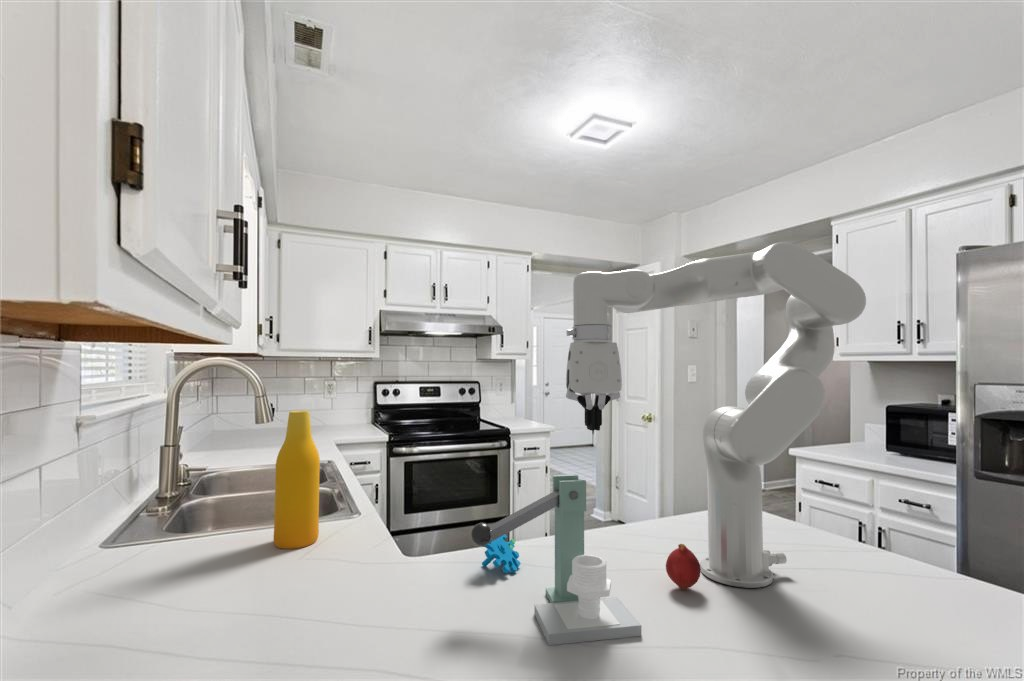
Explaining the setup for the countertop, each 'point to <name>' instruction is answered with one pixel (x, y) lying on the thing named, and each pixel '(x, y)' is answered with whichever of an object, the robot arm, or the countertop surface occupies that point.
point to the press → (563, 610)
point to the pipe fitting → (589, 584)
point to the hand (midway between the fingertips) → (593, 429)
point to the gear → (502, 554)
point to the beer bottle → (297, 486)
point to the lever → (513, 520)
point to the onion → (683, 567)
